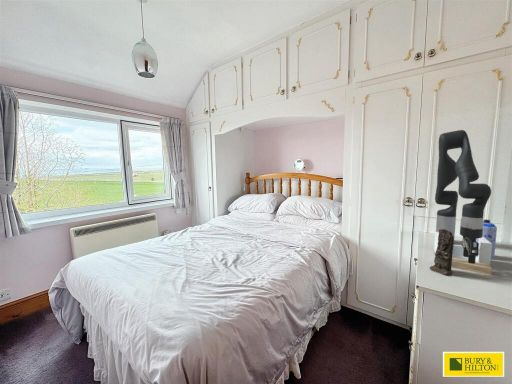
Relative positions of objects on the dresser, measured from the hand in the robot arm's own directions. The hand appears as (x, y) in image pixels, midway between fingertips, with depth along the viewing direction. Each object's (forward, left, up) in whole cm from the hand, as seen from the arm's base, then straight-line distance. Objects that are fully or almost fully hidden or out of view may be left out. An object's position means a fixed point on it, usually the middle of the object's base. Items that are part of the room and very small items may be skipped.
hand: (468, 259), depth 102 cm
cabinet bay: (-12, -1, -4) cm, 13 cm away
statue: (+9, -11, -5) cm, 15 cm away
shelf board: (0, 0, -5) cm, 5 cm away
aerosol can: (-23, +11, -5) cm, 26 cm away
